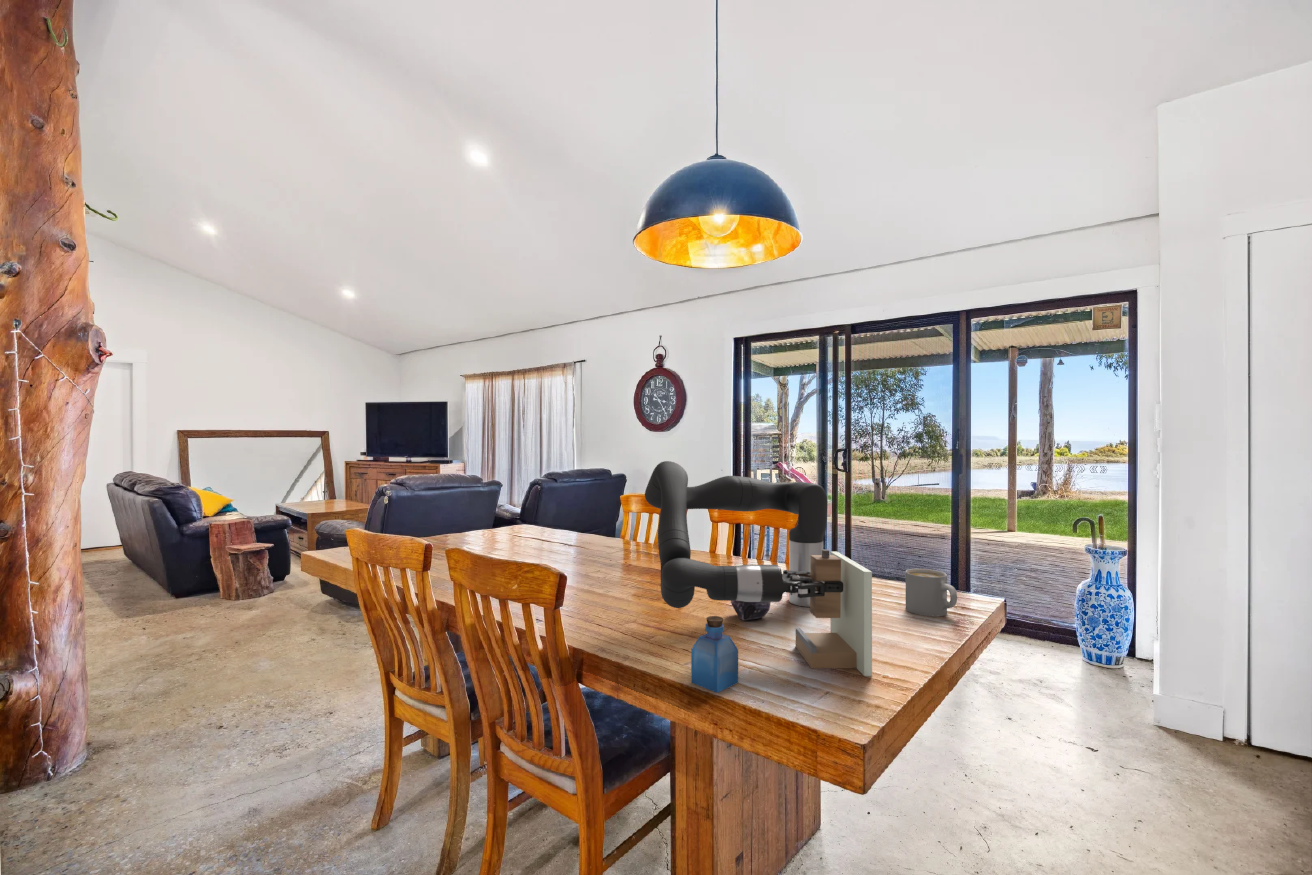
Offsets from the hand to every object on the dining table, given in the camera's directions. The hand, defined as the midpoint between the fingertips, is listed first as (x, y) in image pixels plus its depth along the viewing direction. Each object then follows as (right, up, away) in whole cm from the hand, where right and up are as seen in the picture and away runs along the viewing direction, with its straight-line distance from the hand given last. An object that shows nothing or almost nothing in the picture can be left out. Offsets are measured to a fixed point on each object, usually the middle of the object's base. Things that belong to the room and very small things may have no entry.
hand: (838, 583), depth 122 cm
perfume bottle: (-27, -16, -13) cm, 34 cm away
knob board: (-3, -6, 0) cm, 7 cm away
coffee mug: (+34, -15, +31) cm, 48 cm away
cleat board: (-2, -15, 0) cm, 15 cm away
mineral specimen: (-14, -16, +27) cm, 34 cm away
